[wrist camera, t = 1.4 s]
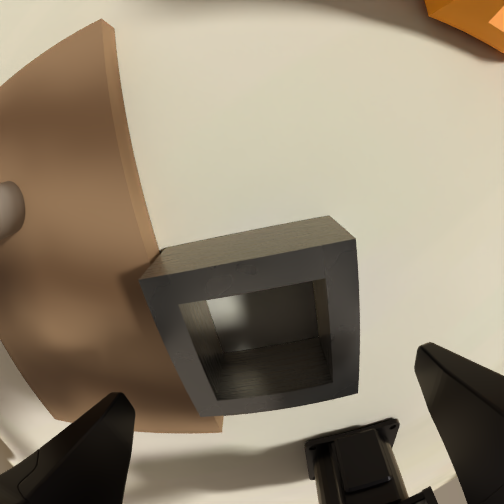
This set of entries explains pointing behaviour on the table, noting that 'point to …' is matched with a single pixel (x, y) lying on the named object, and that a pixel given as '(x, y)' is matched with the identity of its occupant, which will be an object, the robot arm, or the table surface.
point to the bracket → (472, 18)
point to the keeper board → (81, 242)
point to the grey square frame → (251, 280)
